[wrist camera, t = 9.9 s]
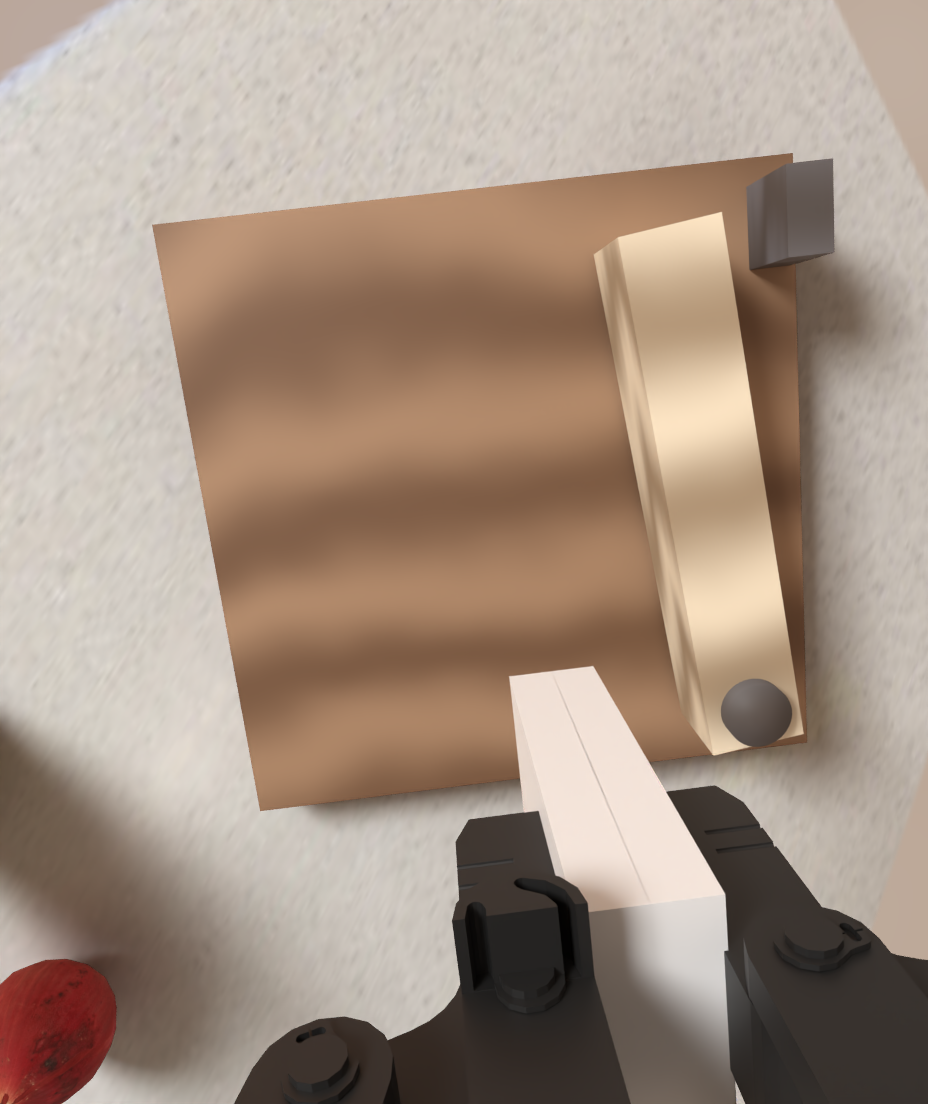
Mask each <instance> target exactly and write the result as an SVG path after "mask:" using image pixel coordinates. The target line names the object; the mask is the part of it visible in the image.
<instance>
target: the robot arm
mask: <svg viewBox="0 0 928 1104" xmlns="http://www.w3.org/2000/svg"><path fill="white" fill-rule="evenodd" d="M509 679H510V688H511V697H512V707H513V716H514V725H515V734H516V743H517V753H518V762H519V771H520V780H521V790H522V799H523V808H524V813H517V814H509V815H501V816H493V817H485V818H477V819H470V820H468V822H467V824H466V825H465V827H464V829H463V830H462V832H461V834H460V835H459V837H458V839H457V840H456V855H457V868H458V870H457V871H458V886H459V901H458V902H457V903H456V907H455V911H454V915H453V919H452V924H453V931H454V939H455V946H456V954H457V961H458V969H459V976H460V986H459V989H458V991H457V993H456V995H455V997H454V998H453V999H452V1000H451V1002H450V1003H449V1004H448V1005H447V1007H446V1008H445V1009H444V1010H443V1011H441V1012H440V1013H439V1014H438V1015H436V1016H435V1017H434V1018H433V1019H431V1020H430V1021H429V1022H427V1023H425V1024H423V1025H421V1026H419V1027H417V1028H415V1029H413V1030H411V1031H409V1032H407V1033H404V1034H402V1035H400V1036H397V1037H395V1038H392V1039H390V1040H387V1039H386V1037H385V1035H384V1034H383V1033H381V1032H380V1031H379V1030H378V1029H376V1028H375V1027H374V1026H372V1025H371V1024H370V1023H368V1022H365V1021H361V1020H357V1019H353V1018H348V1017H336V1018H326V1019H318V1020H315V1021H313V1022H310V1023H308V1024H305V1025H303V1026H300V1027H298V1028H295V1029H293V1030H291V1031H290V1032H288V1033H287V1034H286V1035H284V1036H283V1037H282V1038H280V1039H279V1040H277V1041H276V1042H275V1043H273V1044H272V1045H271V1046H269V1048H268V1049H267V1050H266V1051H265V1053H264V1054H263V1055H262V1057H261V1058H260V1059H259V1061H258V1062H257V1063H256V1065H255V1066H254V1067H253V1069H252V1071H251V1072H250V1074H249V1076H248V1078H247V1080H246V1082H245V1084H244V1086H243V1088H242V1090H241V1092H240V1093H239V1095H238V1097H237V1099H236V1101H235V1103H234V1104H736V1090H735V1081H736V1083H737V1085H738V1088H739V1090H740V1092H741V1095H742V1097H743V1099H744V1101H745V1104H928V960H922V959H916V958H910V957H904V956H899V955H895V954H892V953H891V952H890V951H889V950H888V949H887V948H886V946H885V945H884V944H883V943H882V941H881V940H880V939H879V938H878V937H877V936H876V935H875V934H874V933H873V932H871V931H870V930H869V929H868V928H867V927H866V926H865V925H863V924H862V923H861V922H859V921H857V920H855V919H853V918H851V917H849V916H847V915H845V914H843V913H841V912H839V911H836V910H831V909H827V908H823V907H821V905H820V904H819V903H818V901H817V900H816V899H815V897H814V896H813V895H812V893H811V892H810V891H809V889H808V888H807V887H806V885H805V884H804V883H803V881H802V880H801V879H800V877H799V876H798V875H797V873H796V872H795V871H794V869H793V868H792V867H791V865H790V864H789V863H788V861H787V860H786V859H785V857H784V856H783V855H782V853H781V852H780V851H779V849H778V848H777V847H776V846H775V847H774V845H773V841H772V840H771V839H770V837H769V836H768V835H767V833H766V832H765V830H764V829H763V828H760V824H759V822H758V821H757V820H756V818H755V817H754V816H753V814H752V813H751V812H750V810H749V809H748V808H747V806H746V805H745V804H744V802H742V801H741V800H739V799H737V798H735V797H734V796H732V795H730V794H729V793H727V792H725V791H724V790H722V789H720V788H719V787H717V786H707V787H699V788H691V789H684V790H676V791H668V792H666V791H665V789H664V788H663V786H662V784H661V782H660V781H659V779H658V777H657V775H656V774H655V772H654V770H653V769H652V767H651V765H650V763H649V762H648V760H647V758H646V756H645V755H644V753H643V751H642V750H641V748H640V746H639V744H638V743H637V741H636V739H635V737H634V736H633V734H632V732H631V731H630V729H629V727H628V725H627V724H626V722H625V720H624V718H623V717H622V715H621V713H620V712H619V710H618V708H617V706H616V705H615V703H614V701H613V699H612V698H611V696H610V694H609V693H608V691H607V689H606V687H605V686H604V684H603V682H602V680H601V679H600V677H599V675H598V674H597V672H596V670H595V668H594V667H593V666H590V667H582V668H574V669H566V670H557V671H549V672H541V673H533V674H525V675H517V676H509Z"/></svg>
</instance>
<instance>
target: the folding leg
mask: <svg viewBox="0 0 928 1104" xmlns="http://www.w3.org/2000/svg"><path fill="white" fill-rule="evenodd" d="M594 259H595V264H596V270H597V275H598V280H599V285H600V290H601V296H602V301H603V306H604V311H605V317H606V322H607V327H608V332H609V337H610V343H611V348H612V353H613V358H614V363H615V369H616V374H617V379H618V384H619V390H620V395H621V400H622V405H623V410H624V416H625V421H626V426H627V431H628V437H629V442H630V447H631V452H632V457H633V463H634V468H635V473H636V478H637V483H638V489H639V494H640V499H641V504H642V510H643V515H644V520H645V525H646V530H647V536H648V541H649V546H650V551H651V556H652V562H653V567H654V572H655V577H656V583H657V588H658V593H659V598H660V603H661V609H662V614H663V619H664V624H665V629H666V635H667V640H668V645H669V650H670V656H671V661H672V666H673V671H674V676H675V682H676V687H677V692H678V697H679V703H680V708H681V713H682V714H683V716H684V717H685V718H686V720H687V721H688V722H689V724H690V725H691V726H692V728H693V729H694V730H695V732H696V733H697V734H698V736H699V737H700V738H701V740H702V741H703V742H704V744H705V745H706V746H707V748H708V749H709V750H710V752H711V753H712V754H713V756H714V755H718V754H722V753H727V752H731V751H735V750H739V749H743V748H748V747H762V746H766V745H769V744H772V743H774V742H775V741H777V740H781V739H785V738H789V737H793V736H798V735H802V734H804V732H803V726H802V720H801V713H800V707H799V701H798V694H797V688H796V682H795V675H794V669H793V662H792V656H791V650H790V643H789V637H788V631H787V624H786V618H785V611H784V605H783V599H782V592H781V586H780V580H779V573H778V567H777V561H776V554H775V548H774V541H773V535H772V529H771V522H770V516H769V510H768V503H767V497H766V490H765V484H764V478H763V471H762V465H761V459H760V452H759V446H758V440H757V433H756V427H755V420H754V414H753V408H752V401H751V395H750V389H749V382H748V376H747V369H746V363H745V357H744V350H743V344H742V338H741V331H740V325H739V319H738V312H737V306H736V299H735V293H734V287H733V280H732V274H731V268H730V261H729V255H728V248H727V242H726V236H725V229H724V223H723V217H722V212H719V213H715V214H711V215H707V216H703V217H699V218H695V219H691V220H687V221H683V222H679V223H674V224H670V225H666V226H662V227H658V228H654V229H650V230H646V231H642V232H638V233H634V234H629V235H625V236H621V237H618V238H616V239H615V240H613V241H612V242H611V243H609V244H608V245H606V246H605V247H604V248H602V249H601V250H599V251H598V252H597V253H595V254H594Z"/></svg>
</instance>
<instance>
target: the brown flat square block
mask: <svg viewBox="0 0 928 1104" xmlns="http://www.w3.org/2000/svg"><path fill="white" fill-rule="evenodd" d="M719 212H722V217H723V223H724V229H725V236H726V242H727V248H728V255H729V261H730V268H731V274H732V280H733V287H734V293H735V299H736V306H737V312H738V319H739V325H740V331H741V338H742V344H743V350H744V357H745V363H746V369H747V376H748V382H749V389H750V395H751V401H752V408H753V414H754V420H755V427H756V433H757V440H758V446H759V452H760V459H761V465H762V471H763V478H764V484H765V490H766V497H767V503H768V510H769V516H770V522H771V529H772V535H773V541H774V548H775V554H776V561H777V567H778V573H779V580H780V586H781V592H782V599H783V605H784V611H785V618H786V624H787V631H788V637H789V643H790V650H791V656H792V662H793V669H794V675H795V682H796V688H797V694H798V701H799V707H800V713H801V720H802V726H803V732H804V734H802V735H798V736H793V737H789V738H785V739H781V740H777V741H775V742H774V743H772V744H769V745H766V746H762V747H748V748H743V749H739V750H735V751H742V750H750V749H758V748H766V747H774V746H782V745H790V744H798V743H806V742H807V722H806V681H805V639H804V598H803V557H802V516H801V475H800V434H799V392H798V351H797V310H796V269H795V264H797V263H800V262H803V261H807V260H810V259H813V258H817V257H820V256H823V255H827V254H830V253H833V252H834V196H833V159H824V160H815V161H806V162H797V163H793V153H790V154H781V155H772V156H763V157H754V158H745V159H736V160H727V161H718V162H709V163H700V164H691V165H683V166H674V167H665V168H656V169H647V170H638V171H629V172H620V173H611V174H602V175H593V176H584V177H575V178H567V179H558V180H549V181H540V182H531V183H522V184H513V185H504V186H495V187H486V188H477V189H468V190H459V191H451V192H442V193H433V194H424V195H415V196H406V197H397V198H388V199H379V200H370V201H361V202H352V203H344V204H335V205H326V206H317V207H308V208H299V209H290V210H281V211H272V212H263V213H254V214H245V215H236V216H228V217H219V218H210V219H201V220H192V221H183V222H174V223H165V224H156V225H152V226H153V232H154V237H155V243H156V248H157V253H158V259H159V264H160V270H161V275H162V281H163V286H164V291H165V297H166V302H167V308H168V313H169V319H170V324H171V329H172V335H173V340H174V346H175V351H176V356H177V362H178V367H179V373H180V378H181V384H182V389H183V394H184V400H185V405H186V411H187V416H188V422H189V427H190V432H191V438H192V443H193V449H194V454H195V459H196V465H197V470H198V476H199V481H200V487H201V492H202V497H203V503H204V508H205V514H206V519H207V525H208V530H209V535H210V541H211V546H212V552H213V557H214V562H215V568H216V573H217V579H218V584H219V590H220V595H221V600H222V606H223V611H224V617H225V622H226V628H227V633H228V638H229V644H230V649H231V655H232V660H233V665H234V671H235V676H236V682H237V687H238V693H239V698H240V703H241V709H242V714H243V720H244V725H245V731H246V736H247V741H248V747H249V752H250V758H251V763H252V768H253V774H254V779H255V785H256V790H257V796H258V801H259V806H260V811H265V810H273V809H281V808H289V807H297V806H305V805H313V804H320V803H328V802H336V801H344V800H352V799H360V798H368V797H376V796H384V795H392V794H400V793H408V792H416V791H424V790H432V789H440V788H448V787H456V786H464V785H472V784H480V783H488V782H495V781H503V780H511V779H519V778H520V771H519V762H518V753H517V743H516V734H515V725H514V716H513V707H512V697H511V688H510V679H509V676H517V675H525V674H533V673H541V672H549V671H557V670H566V669H574V668H582V667H590V666H593V667H594V668H595V670H596V672H597V674H598V675H599V677H600V679H601V680H602V682H603V684H604V686H605V687H606V689H607V691H608V693H609V694H610V696H611V698H612V699H613V701H614V703H615V705H616V706H617V708H618V710H619V712H620V713H621V715H622V717H623V718H624V720H625V722H626V724H627V725H628V727H629V729H630V731H631V732H632V734H633V736H634V737H635V739H636V741H637V743H638V744H639V746H640V748H641V750H642V751H643V753H644V755H645V756H646V758H647V760H648V762H655V761H663V760H670V759H678V758H686V757H694V756H702V755H710V754H712V753H711V752H710V750H709V749H708V748H707V746H706V745H705V744H704V742H703V741H702V740H701V738H700V737H699V736H698V734H697V733H696V732H695V730H694V729H693V728H692V726H691V725H690V724H689V722H688V721H687V720H686V718H685V717H684V716H683V714H682V713H681V708H680V703H679V697H678V692H677V687H676V682H675V676H674V671H673V666H672V661H671V656H670V650H669V645H668V640H667V635H666V629H665V624H664V619H663V614H662V609H661V603H660V598H659V593H658V588H657V583H656V577H655V572H654V567H653V562H652V556H651V551H650V546H649V541H648V536H647V530H646V525H645V520H644V515H643V510H642V504H641V499H640V494H639V489H638V483H637V478H636V473H635V468H634V463H633V457H632V452H631V447H630V442H629V437H628V431H627V426H626V421H625V416H624V410H623V405H622V400H621V395H620V390H619V384H618V379H617V374H616V369H615V363H614V358H613V353H612V348H611V343H610V337H609V332H608V327H607V322H606V317H605V311H604V306H603V301H602V296H601V290H600V285H599V280H598V275H597V270H596V264H595V259H594V254H595V253H597V252H598V251H599V250H601V249H602V248H604V247H605V246H606V245H608V244H609V243H611V242H612V241H613V240H615V239H616V238H618V237H621V236H625V235H629V234H634V233H638V232H642V231H646V230H650V229H654V228H658V227H662V226H666V225H670V224H674V223H679V222H683V221H687V220H691V219H695V218H699V217H703V216H707V215H711V214H715V213H719ZM731 752H734V751H731Z"/></svg>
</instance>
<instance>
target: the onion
mask: <svg viewBox="0 0 928 1104" xmlns="http://www.w3.org/2000/svg"><path fill="white" fill-rule="evenodd" d="M116 1009H117V1007H116V1001H115V995H114V993H113V991H112V989H111V988H110V986H109V984H108V982H107V980H106V978H105V977H104V976H103V975H101V974H100V973H99V972H97V971H96V970H94V969H93V968H92V967H90V966H89V965H88V964H84V963H80V962H76V961H72V960H68V959H58V960H44V961H41V962H39V963H36V964H33V965H30V966H28V967H25V968H23V969H20V970H18V971H15V972H13V973H12V974H11V975H10V976H9V977H8V978H7V979H6V980H5V981H4V982H3V983H1V984H0V1104H62V1103H63V1102H65V1101H66V1100H68V1099H69V1098H70V1097H71V1096H73V1095H74V1094H75V1093H76V1092H78V1091H79V1090H80V1089H81V1088H82V1087H84V1086H85V1085H86V1084H87V1083H88V1082H89V1081H90V1080H91V1079H92V1078H93V1076H94V1075H95V1073H96V1072H97V1070H98V1069H99V1067H100V1066H101V1064H102V1062H103V1060H104V1058H105V1056H106V1054H107V1052H108V1050H109V1048H110V1046H111V1044H112V1040H113V1037H114V1034H115V1030H116Z"/></svg>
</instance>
